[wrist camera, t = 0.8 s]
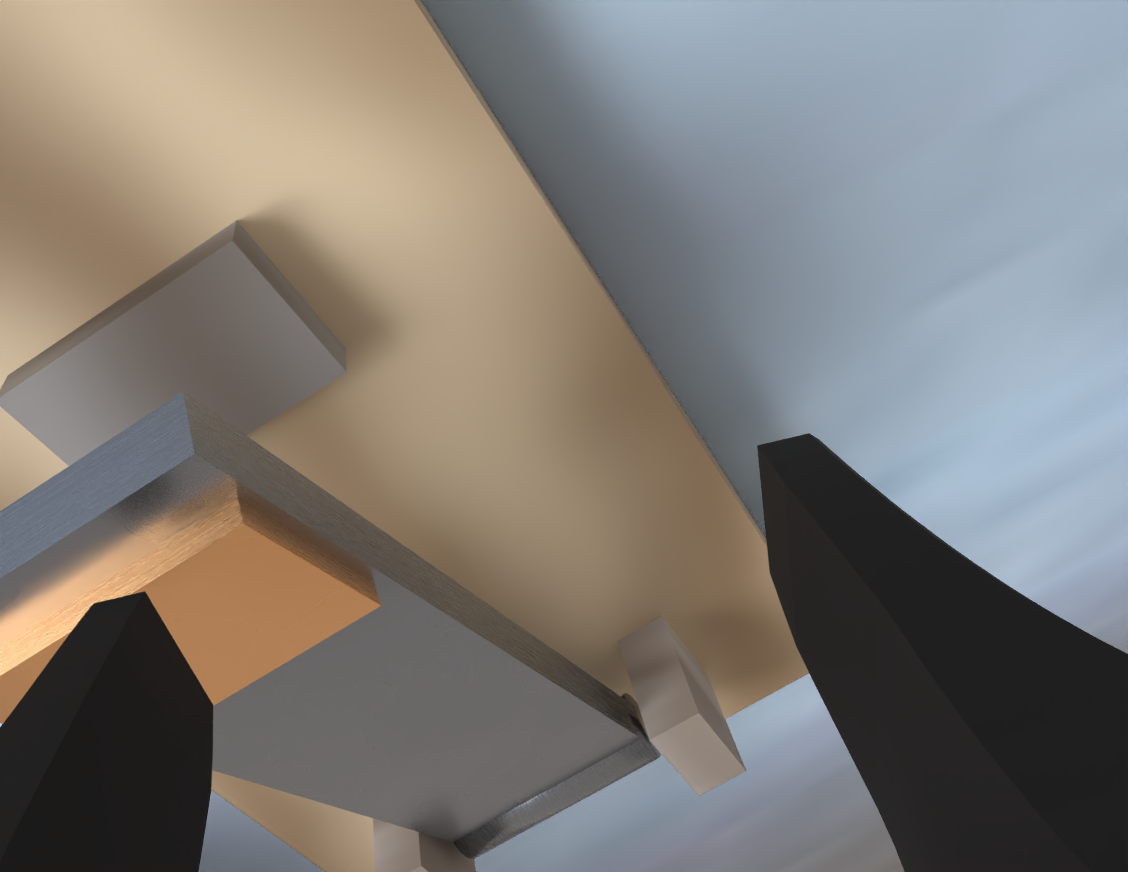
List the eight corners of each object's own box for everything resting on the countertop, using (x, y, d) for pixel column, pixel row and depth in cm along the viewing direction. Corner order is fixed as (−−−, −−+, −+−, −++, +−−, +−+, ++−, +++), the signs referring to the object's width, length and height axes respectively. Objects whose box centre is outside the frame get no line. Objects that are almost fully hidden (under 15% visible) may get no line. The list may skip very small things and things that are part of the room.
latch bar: (466, 799, 26) (487, 867, 25) (-132, 578, 14) (-138, 695, 13) (641, 702, 25) (669, 768, 24) (180, 373, 13) (199, 480, 12)
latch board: (374, 845, 30) (381, 1019, 26) (-395, 250, 18) (-608, 396, 14) (808, 603, 28) (890, 750, 24) (262, -246, 16) (239, -246, 12)
